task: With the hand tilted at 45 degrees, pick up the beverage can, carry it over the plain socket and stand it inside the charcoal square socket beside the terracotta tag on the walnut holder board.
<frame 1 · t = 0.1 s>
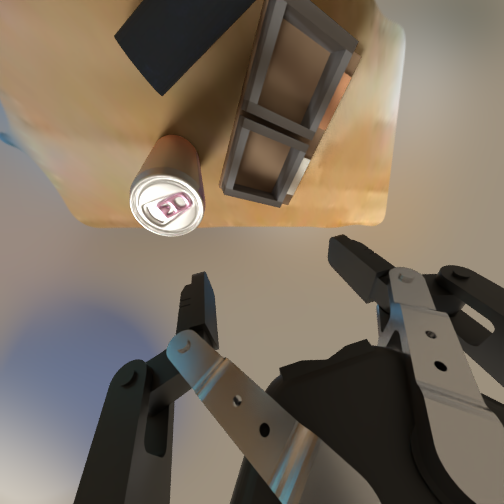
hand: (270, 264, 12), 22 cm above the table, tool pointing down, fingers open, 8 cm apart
beverage can: (177, 158, 26), on the table
socket board: (279, 128, 27), on the table
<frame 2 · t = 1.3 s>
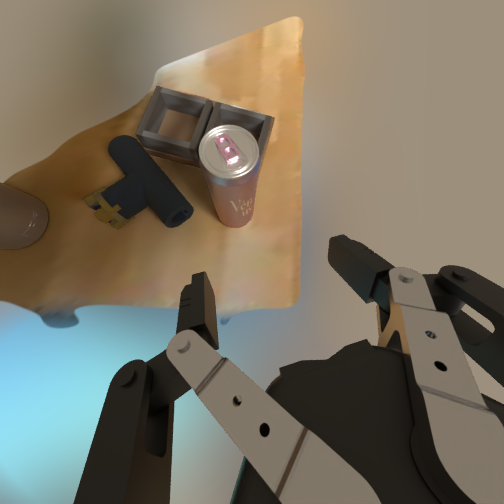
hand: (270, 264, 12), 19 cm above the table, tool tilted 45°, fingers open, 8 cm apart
beverage can: (235, 213, 32), on the table
pipe connector: (143, 201, 32), on the table
socket board: (212, 137, 34), on the table
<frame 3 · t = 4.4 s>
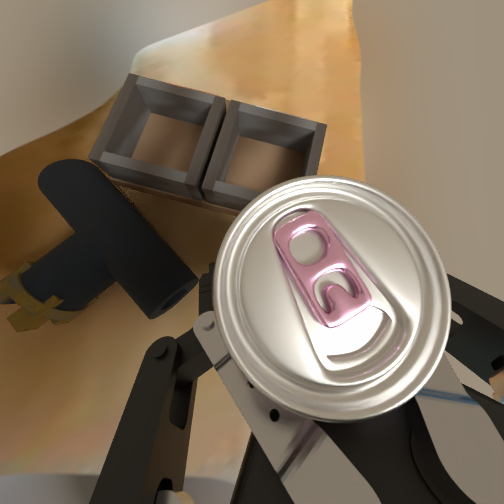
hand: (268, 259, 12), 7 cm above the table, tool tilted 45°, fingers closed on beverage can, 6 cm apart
beverage can: (263, 285, 19), on the table, touching gripper
pipe connector: (113, 265, 19), on the table
socket board: (223, 157, 21), on the table
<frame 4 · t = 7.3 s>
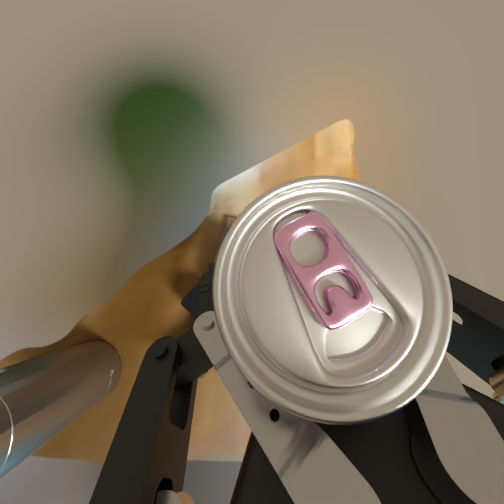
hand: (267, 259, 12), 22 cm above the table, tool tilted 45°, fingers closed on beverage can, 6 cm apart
beverage can: (263, 285, 19), point 14 cm above the table, touching gripper
pipe connector: (214, 336, 32), on the table
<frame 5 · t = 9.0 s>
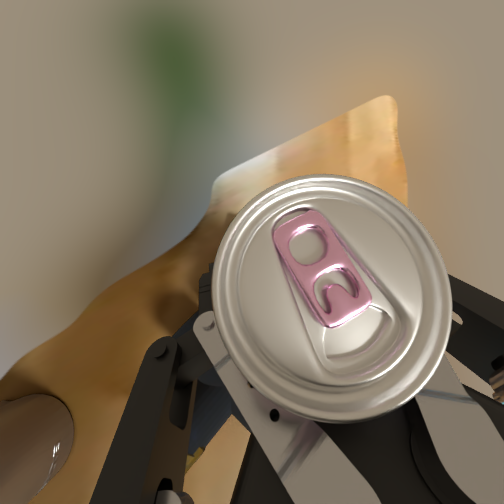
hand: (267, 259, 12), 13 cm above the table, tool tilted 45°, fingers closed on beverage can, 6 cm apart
beverage can: (263, 285, 19), point 5 cm above the table, touching gripper
pipe connector: (214, 385, 23), on the table
when the fingers open (9 cm above the table, at t = 10.2 s): beverage can stays where it is, resting on socket board.
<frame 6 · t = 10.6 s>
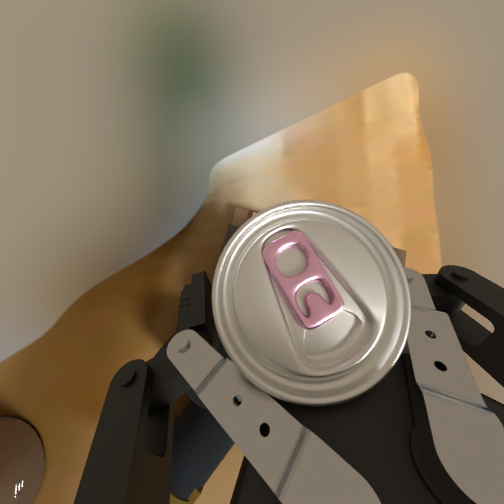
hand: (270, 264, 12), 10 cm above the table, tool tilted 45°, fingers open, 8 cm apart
beverage can: (263, 287, 20), point 1 cm above the table, touching socket board
pipe connector: (213, 404, 19), on the table
socket board: (306, 283, 21), on the table
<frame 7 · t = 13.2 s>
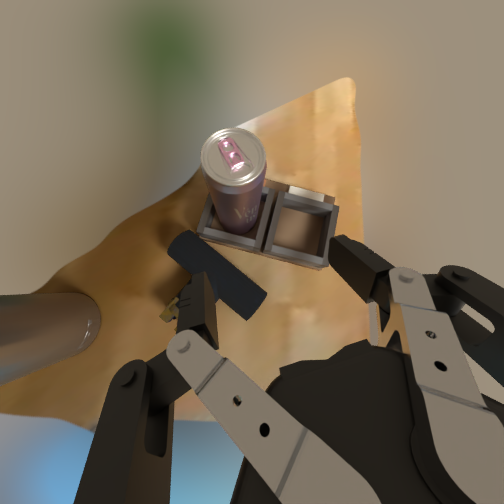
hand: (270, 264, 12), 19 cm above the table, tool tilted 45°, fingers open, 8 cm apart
beverage can: (238, 218, 31), point 1 cm above the table, touching socket board
pipe connector: (206, 290, 30), on the table
socket board: (268, 219, 32), on the table
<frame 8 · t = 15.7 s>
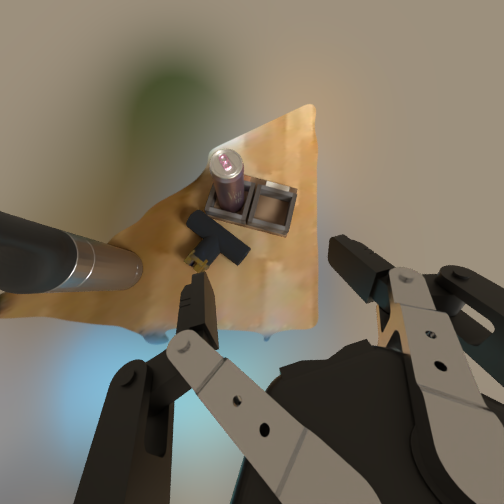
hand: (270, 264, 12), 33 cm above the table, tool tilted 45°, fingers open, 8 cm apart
beverage can: (231, 203, 46), point 1 cm above the table, touching socket board
pipe connector: (211, 250, 45), on the table
socket board: (252, 203, 47), on the table
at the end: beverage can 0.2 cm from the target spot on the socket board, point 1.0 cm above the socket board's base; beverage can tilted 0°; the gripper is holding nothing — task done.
